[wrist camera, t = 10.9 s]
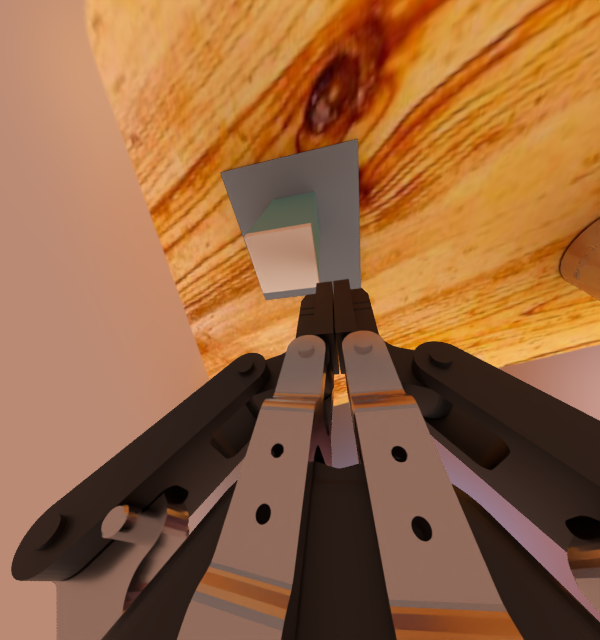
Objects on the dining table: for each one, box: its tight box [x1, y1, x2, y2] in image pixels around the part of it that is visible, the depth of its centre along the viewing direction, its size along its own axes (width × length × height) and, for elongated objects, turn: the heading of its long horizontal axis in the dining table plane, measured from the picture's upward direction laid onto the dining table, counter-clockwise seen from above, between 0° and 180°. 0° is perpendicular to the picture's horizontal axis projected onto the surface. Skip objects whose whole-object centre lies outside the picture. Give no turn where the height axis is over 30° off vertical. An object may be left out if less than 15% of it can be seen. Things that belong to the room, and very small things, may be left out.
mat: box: [221, 139, 361, 300], centre depth 23 cm, size 12×14×1 cm
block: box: [244, 192, 320, 293], centre depth 18 cm, size 4×4×10 cm
